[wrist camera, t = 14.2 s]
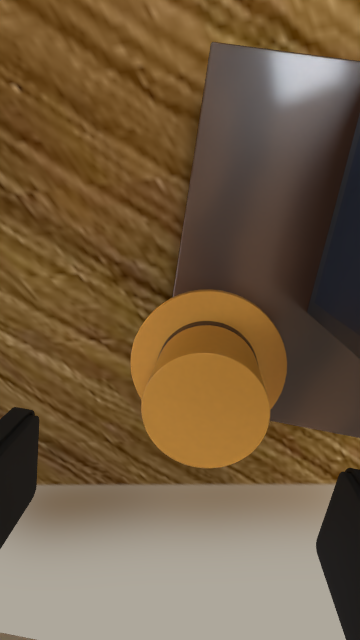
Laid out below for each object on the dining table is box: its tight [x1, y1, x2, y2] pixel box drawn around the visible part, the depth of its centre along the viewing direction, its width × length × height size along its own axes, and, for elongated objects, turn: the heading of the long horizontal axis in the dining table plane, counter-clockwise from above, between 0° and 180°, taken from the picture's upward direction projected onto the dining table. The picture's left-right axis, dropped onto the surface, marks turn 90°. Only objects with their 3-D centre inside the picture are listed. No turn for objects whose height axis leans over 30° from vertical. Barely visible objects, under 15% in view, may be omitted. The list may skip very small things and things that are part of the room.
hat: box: [131, 289, 287, 468], centre depth 17 cm, size 9×9×6 cm
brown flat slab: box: [172, 42, 360, 438], centre depth 20 cm, size 15×19×4 cm
